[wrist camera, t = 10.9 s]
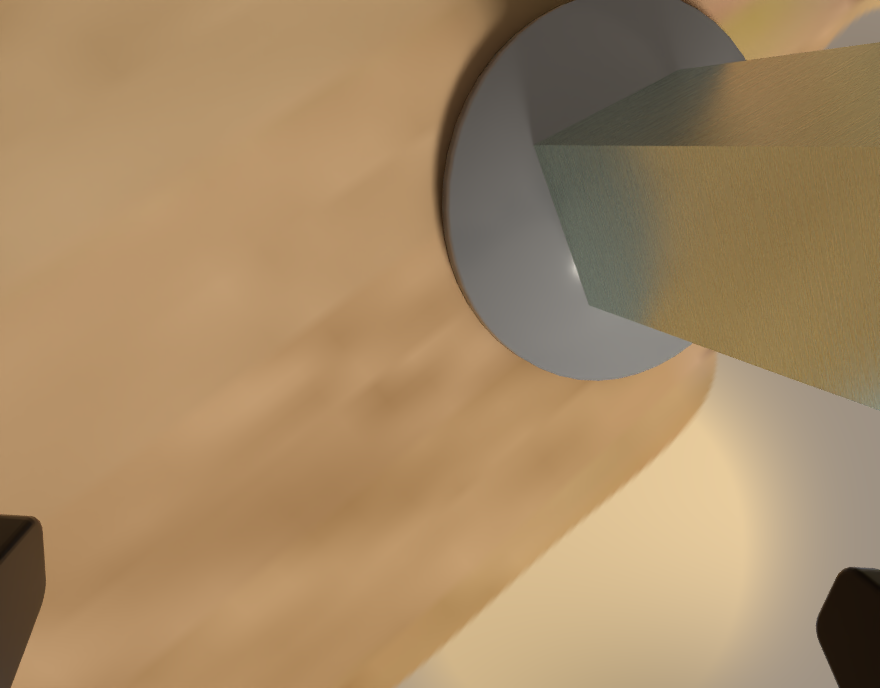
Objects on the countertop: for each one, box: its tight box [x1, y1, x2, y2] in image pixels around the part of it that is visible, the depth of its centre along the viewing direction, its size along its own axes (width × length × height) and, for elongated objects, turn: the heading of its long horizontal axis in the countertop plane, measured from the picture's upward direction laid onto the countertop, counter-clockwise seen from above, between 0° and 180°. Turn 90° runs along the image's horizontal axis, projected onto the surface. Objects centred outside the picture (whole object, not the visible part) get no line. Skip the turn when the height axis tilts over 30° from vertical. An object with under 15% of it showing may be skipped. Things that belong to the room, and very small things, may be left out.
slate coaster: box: [442, 0, 746, 381], centre depth 21 cm, size 11×11×1 cm
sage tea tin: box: [534, 42, 880, 411], centre depth 14 cm, size 5×5×14 cm
